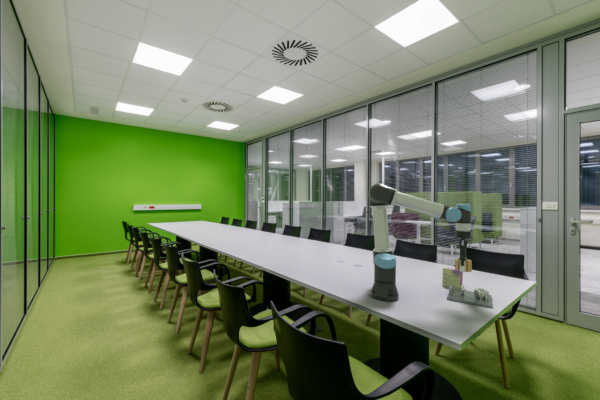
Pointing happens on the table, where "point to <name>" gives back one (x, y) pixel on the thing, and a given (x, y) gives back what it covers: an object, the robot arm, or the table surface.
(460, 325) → the table surface
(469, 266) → the gear
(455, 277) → the box
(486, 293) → the carrier
